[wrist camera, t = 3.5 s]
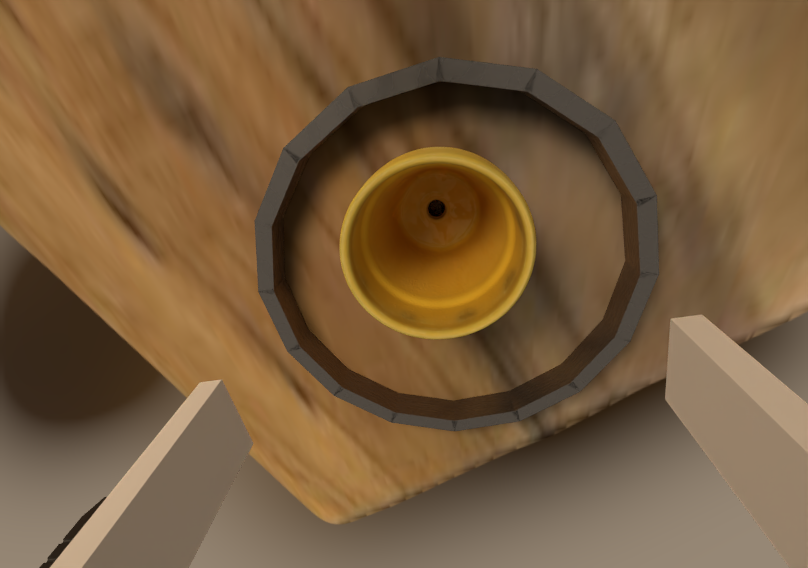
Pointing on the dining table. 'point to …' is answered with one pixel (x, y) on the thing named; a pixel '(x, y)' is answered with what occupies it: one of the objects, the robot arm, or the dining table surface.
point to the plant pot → (438, 244)
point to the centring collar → (536, 392)
